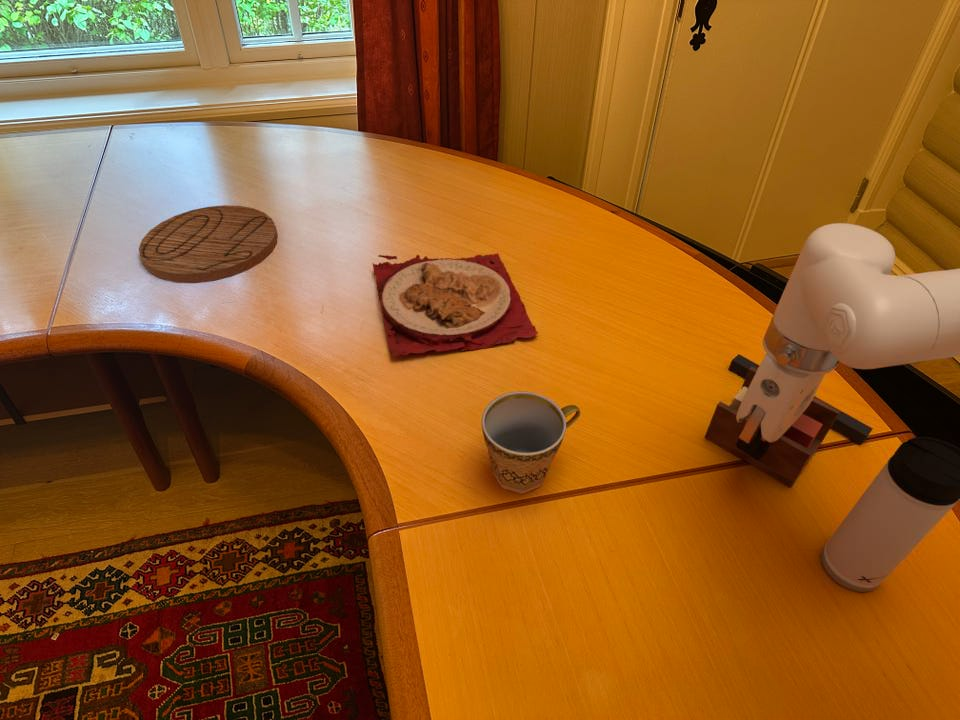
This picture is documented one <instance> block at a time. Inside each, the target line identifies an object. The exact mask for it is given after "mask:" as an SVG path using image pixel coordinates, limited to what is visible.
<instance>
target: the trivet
mask: <svg viewBox="0 0 960 720" xmlns="http://www.w3.org/2000/svg"><path fill="white" fill-rule="evenodd" d="M278 236H279V234H278V229H277V227H276V224H275V222H274V220H273V218H272V217H270V216H269V215H268V214H267V213H265V212H264V211H261V210H259V209H256V208H253V207H248V206H243V205H230V204H229V205H228V204H224V205H213V206H204V207H201V208H196V209H195V208H194V209H191V210H187V211H185V212H182V213H178V214H176V215H173V216H171V217H170V218H168V219H165V220H163V221H161V222H160V223H157V225H155V226H154V227H152V228H151V229H150V230H149V231H147V233H146V234H145V235H144V237H143V238H142V239H141V241H140V243H139V246H138V253H139V258H140V260H141V263H142V264H143V266H144V268H145V269H146V270H147V271H148V272H149V274H151V275H153V276H155V277H157V278H159V279H161V280H166V281H169V282H174V283H186V284H187V283H188V284H195V283H196V284H198V283H205V282H214V281H217V280H222V279H225V278H226V279H227V278H230V277H233V276H236V275H239V274H241V273H243V272H246V271H249V270H250V269H252V268H253V267H256V266H257V265H259V264H261V263H262V262H263V261H265V260H266V259H267V258H268V257H269V256H270V255H271V254H272V253H273V251H274V250H275V248H276V246H277V244H278Z"/></svg>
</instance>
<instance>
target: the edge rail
mask: <svg viewBox="0 0 960 720" xmlns="http://www.w3.org/2000/svg"><path fill="white" fill-rule="evenodd" d="M759 366H760V364H758V363H756V362H754V361H753V360H751V359H749V358H747V357H745V356H743V355H742V354H741V353H740V354H739V353H738V354H737V355H735V357H733V358H732V360H731V361H730V364H729V366H728V370H729V371H731V372H733V373H734V374H736V375H738V376H739V377H741V378H743V379H744V380H745V378H746V376H747V374H748V371H749V369H750V368H751V367H754V368H756V369H758V367H759ZM814 397H815V398H817V399H819V400H821V401H823V402H825V403H827V404H829V403H828V402H826V401H824V400H823V399H821V398H819V397H817V396H816V395H815V396H814ZM829 405H831V406H833V405H832V404H829ZM873 429H874V428H873V427H871V426H869V425H867V424H866V423H864V422H862V421H861V420H859V419H857V418H855V417H853V416H851V415H849V414H848V413H846V412H844V411H842V410H841V412H840V413H839V415H838V417H837V418H836V420H835V422H834V423H833V425H832V427H831V428H830V430H833V431H834V432H836V433H838V434H839V435H841V436H843V437H845V438H846V439H848V440H850V441H852V442H853V443H855V444H857V445H859V446H862V444H863V443H864V442H865V441H866V440H867V438H868V437H869V436H870V434H871V432H872V431H873Z"/></svg>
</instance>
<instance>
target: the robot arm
mask: <svg viewBox="0 0 960 720" xmlns="http://www.w3.org/2000/svg"><path fill="white" fill-rule="evenodd" d="M895 262H896V252H895V248H894V246H893V245H892V243H891V242H890V241H889V240H888V239H887V238H886V237H884V236H883V235H882V234H880V233H879V232H877V231H875V230H873V229H871V228H867V227H865V226H862V225H858V224H855V223H854V224H853V223H845V222H835V223H834V222H833V223H829V224H825V225H822V226H820V227H818V228H816V229H815V230H813V231H812V232H811V233H810V234H809V236H808V237H807V239H806V240H805V242H804V244H803V246H802V248H801V251H800V254H799V255H798V258H797V260H796V262H795V265H794V266H793V269H792V272H791V274H790V275H789V278H788V280H787V283H786V285H785V287H784V290H783V291H782V294H781V297H780V299H779V301H778V304H777V306H776V308H775V310H774V313H773V315H772V318H771V319H770V321H769V324H768V327H767V329H766V331H765V334H764V336H763V338H762V347H763V350H764V352H765V355H764V357H763V359H762V361H761V362H760V363H759V365H760V366H759V367H758V370H757V372H756V374H755V376H754V378H753V380H752V382H751V384H750V386H749V388H748V390H747V392H746V394H745V396H744V398H743V400H742V403H741V405H740V407H739V410H738V412H737V416H736V419H737V422H738V423H740V422H741V423H742V422H743V421H744V420H745V419H746V418H747V417H748V419H747V421H746V424H745V426H744V428H743V431H742V432H741V434H740V436H739V439H738V441H737V443H736V447H737V448H739V449H740V450H742V451H743V452H745V453H746V454H748V455H749V456H751V457H753V458H754V459H756V460H760V459H761V457H762V456H763V455H764V454H765V453H766V452H767V450H768V448H769V446H770V444H771V442H774V441H777V440H778V439H779V438H780V437H781V436H782V435H783V434H784V433H785V432H786V431H787V430H788V429H789V428H790V427H791V425H792V424H793V423H794V422H795V421H796V420H797V419H798V418H799V417H800V416H801V414H802V413H803V412H804V411H805V410H806V409H807V407H808V406H809V405H810V403H811V401H812V400H813V398H814V396H815V397H816V394H817V392H818V389H819V388H820V385H821V384H822V382H823V379H824V377H825V375H826V374H829V373H831V372H833V371H834V370H835V369H836V368H837V367H838V365H839V364H840V363H841V364H843V365H844V366H846V367H849V368H852V369H857V370H874V369H881V368H888V367H896V366H901V365H903V366H904V365H910V364H913V363H920V362H928V361H935V360H940V359H950V358H958V357H960V268H953V269H947V270H945V269H944V270H933V271H926V272H920V273H910V274H902V275H894V274H890V273H891V272H892V270H893V268H894V265H895Z"/></svg>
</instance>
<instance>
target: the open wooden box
mask: <svg viewBox="0 0 960 720" xmlns="http://www.w3.org/2000/svg"><path fill="white" fill-rule="evenodd" d="M757 370H758V369H756V368H754V367H751V368H750V369H749V371H748V374H747V376H746V378H745V379H744V380H743V383H742V385H741V388H740V389H739V391H738V392H737V394H736V395H735V396H734V397H733V398H732V401H731V403H730V404H729V405H728V404H726V403H724V402H722V401H718V403H717V404H716V407H715V409H714V412H713V414H712V417H711V420H710V422H709V424H708V428H707V430H706V432H705V434H704V438H705V439H707V440H708V441H710V442H711V443H714V444H715V445H717V446H718V447H720V448H722V449H723V450H726V451H727V452H729V453H731V454H732V455H734V456H736V457H737V458H739V459H741V460H742V461H744V462H746V463H747V464H749V465H751V466H753V467H754V468H756V469H758V470H759V471H762V472H763V473H764V474H766V475H767V476H770V477H771V478H773V479H775V480H776V481H778V482H780V483H782V484H783V485H786V486H787V487H789V488H792V487H793V485H794V484H795V483H796V481H797V480H798V478H799V477H800V475H801V474H802V473H803V471H804V469H805V468H806V467H807V466H808V464H809V462H810V461H811V459H812V458H813V456H814V455H815V453H817V450H818V449H819V448H820V446H821V445H822V443H823V441H824V440H825V438H826V436H827V435H828V433H829V431H830V430H831V427H832V425H833V423H834V422H835V420H836V418H837V417H838V415H839V413H840V412H841V411H842V410H841V409H839V408H837V407H835V406H833V405H832V404H830V405H829V403H828V402H826V401H824V400H823V401H824V402H823V401H821V400H822V399H821V400H819V399H820V398H819V399H817V398H818V397H817V398H815V397H816V396H815V397H814V398H813V400H812V401H811V403H810V405H809V406H808V407H807V409H806V410H805V411H804V412H803V413H802V414H801V416H800V417H799V418H798V419H797V420H796V421H795V422H794V423H793V424H792V425H791V427H790V428H789V429H788V430H787V431H786V432H785V433H784V434H783V435H782V436H781V437H780V438H779V439H778V440H777V441H774V442H771V444H770V446H769V448H768V450H767V452H766V453H765V454H764V455H763V456H762V457H761V459H760V460H756V459H754V458H753V457H751V456H749V455H748V454H746V453H745V452H743V451H742V450H740V449H739V448H737V447H736V443H737V441H738V439H739V436H740V434H741V432H742V431H743V428H744V426H745V424H746V421H747V419H748V417H747V418H746V419H745V420H744V421H743V422H742V423H741V422H740V423H738V422H737V419H736V416H737V412H738V410H739V407H740V405H741V403H742V400H743V398H744V396H745V394H746V392H747V390H748V388H749V386H750V384H751V382H752V380H753V378H754V376H755V374H756V372H757ZM825 402H826V403H825ZM827 403H828V404H827ZM831 405H832V406H831Z"/></svg>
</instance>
